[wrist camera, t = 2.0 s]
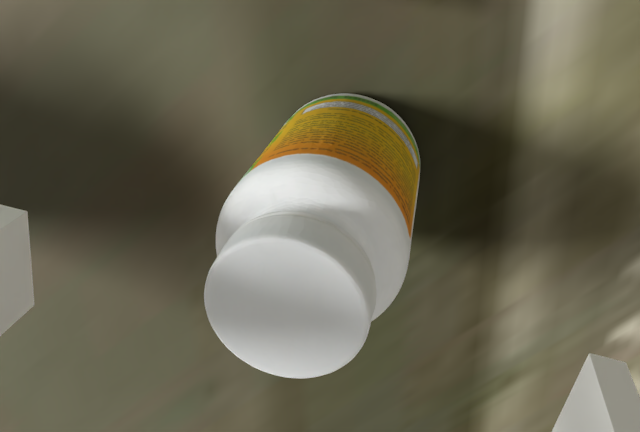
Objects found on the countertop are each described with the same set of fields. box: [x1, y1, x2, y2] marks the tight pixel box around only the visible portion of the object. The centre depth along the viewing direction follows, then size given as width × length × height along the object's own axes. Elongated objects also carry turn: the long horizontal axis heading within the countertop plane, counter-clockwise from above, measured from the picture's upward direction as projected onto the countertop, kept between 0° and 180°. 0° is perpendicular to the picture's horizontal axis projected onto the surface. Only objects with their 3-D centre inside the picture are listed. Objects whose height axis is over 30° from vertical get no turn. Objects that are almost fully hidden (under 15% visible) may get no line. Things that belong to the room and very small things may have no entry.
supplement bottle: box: [204, 93, 420, 378], centre depth 18 cm, size 5×5×10 cm
